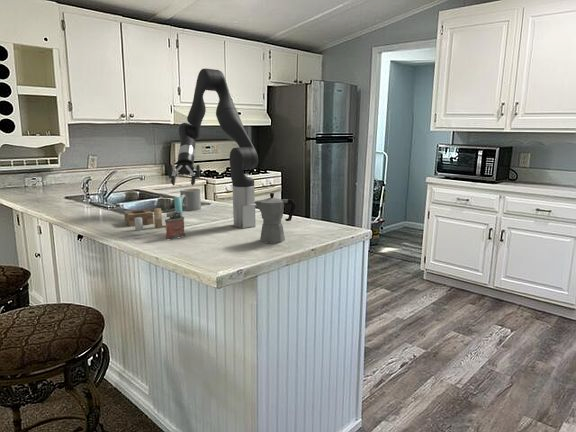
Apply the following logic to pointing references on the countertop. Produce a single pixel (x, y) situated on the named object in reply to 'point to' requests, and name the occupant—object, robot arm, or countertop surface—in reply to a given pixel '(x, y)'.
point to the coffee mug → (190, 199)
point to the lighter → (174, 225)
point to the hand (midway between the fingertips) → (182, 184)
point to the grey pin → (138, 224)
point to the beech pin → (158, 218)
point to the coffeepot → (273, 218)
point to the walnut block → (144, 214)
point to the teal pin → (178, 204)
